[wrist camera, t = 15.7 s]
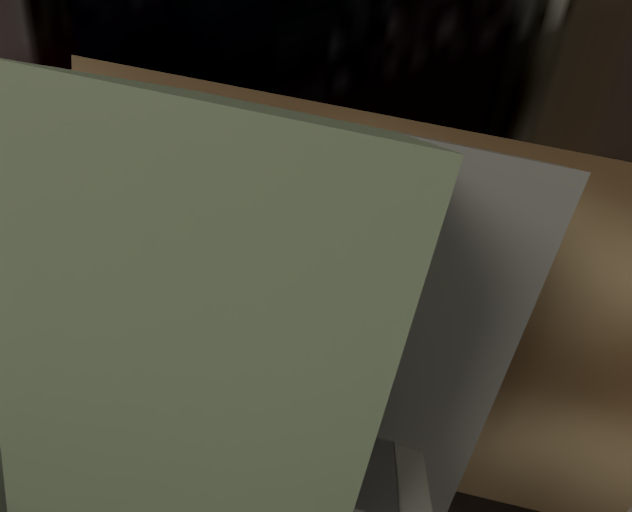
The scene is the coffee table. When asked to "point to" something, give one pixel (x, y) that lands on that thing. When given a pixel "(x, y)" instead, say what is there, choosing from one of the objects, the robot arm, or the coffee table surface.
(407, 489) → the robot arm
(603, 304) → the board
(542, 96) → the coffee table surface
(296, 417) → the grey-green boxy piece
